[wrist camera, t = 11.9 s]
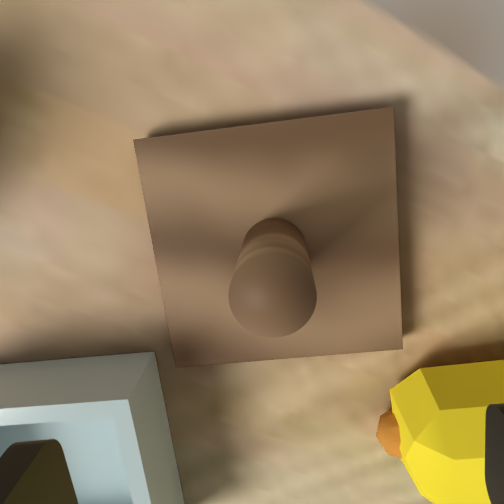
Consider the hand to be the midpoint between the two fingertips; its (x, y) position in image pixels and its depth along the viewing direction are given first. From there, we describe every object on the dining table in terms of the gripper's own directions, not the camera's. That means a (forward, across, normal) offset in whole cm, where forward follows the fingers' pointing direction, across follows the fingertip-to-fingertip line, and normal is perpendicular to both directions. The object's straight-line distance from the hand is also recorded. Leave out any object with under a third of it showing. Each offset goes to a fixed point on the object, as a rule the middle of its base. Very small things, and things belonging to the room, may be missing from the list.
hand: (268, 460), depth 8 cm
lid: (+17, 0, 0) cm, 17 cm away
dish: (+17, +14, +12) cm, 25 cm away
